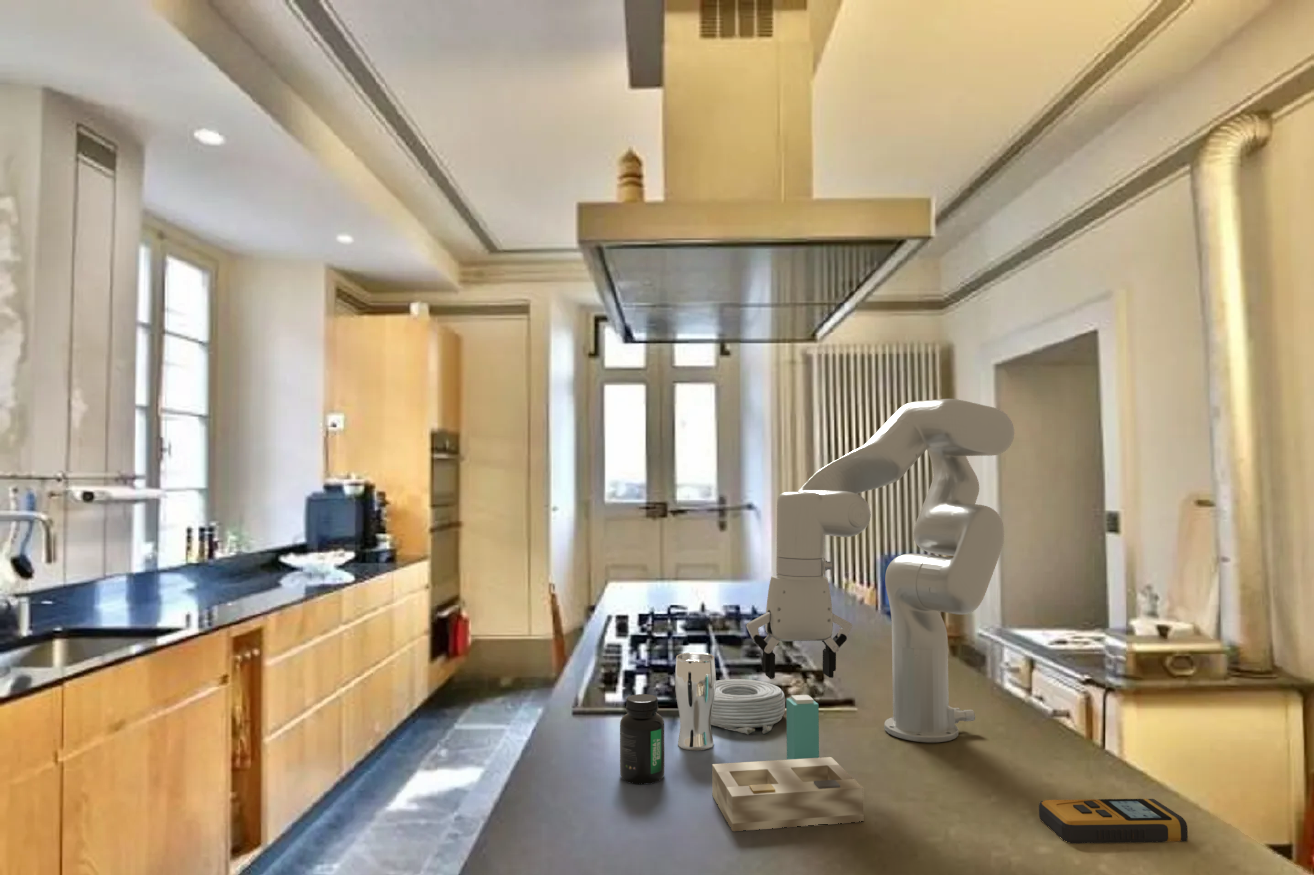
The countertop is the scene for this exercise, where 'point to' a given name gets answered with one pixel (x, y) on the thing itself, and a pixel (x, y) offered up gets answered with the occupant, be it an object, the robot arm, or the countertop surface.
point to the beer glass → (695, 699)
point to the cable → (747, 705)
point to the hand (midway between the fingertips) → (799, 676)
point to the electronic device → (1113, 821)
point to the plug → (802, 727)
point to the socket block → (786, 793)
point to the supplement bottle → (642, 741)
